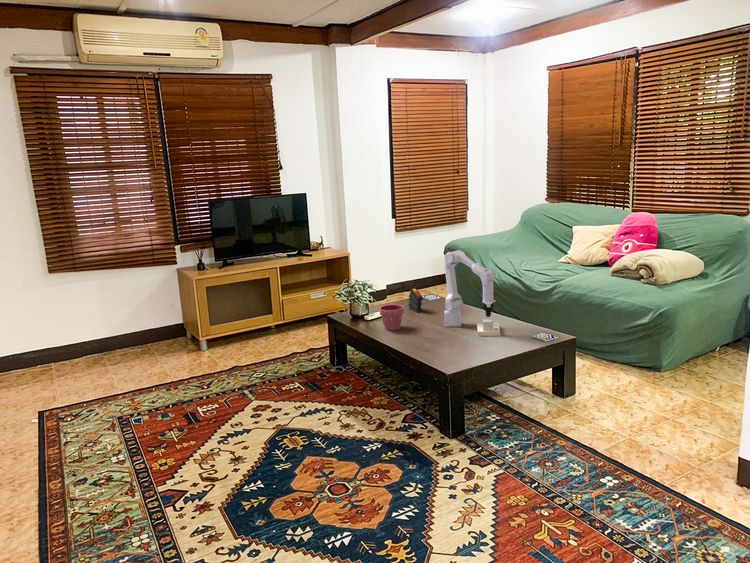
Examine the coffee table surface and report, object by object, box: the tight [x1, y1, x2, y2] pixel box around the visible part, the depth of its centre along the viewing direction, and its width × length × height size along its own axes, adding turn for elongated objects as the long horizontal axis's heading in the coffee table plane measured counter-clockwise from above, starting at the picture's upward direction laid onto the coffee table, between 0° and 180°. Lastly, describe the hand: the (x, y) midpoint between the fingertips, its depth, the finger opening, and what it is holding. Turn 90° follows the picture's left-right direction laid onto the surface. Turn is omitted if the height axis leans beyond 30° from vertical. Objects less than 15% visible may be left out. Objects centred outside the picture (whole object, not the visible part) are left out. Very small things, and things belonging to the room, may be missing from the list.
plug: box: [482, 318, 494, 331], centre depth 314 cm, size 6×4×7 cm
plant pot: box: [379, 304, 405, 331], centre depth 332 cm, size 14×14×13 cm
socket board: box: [476, 322, 501, 337], centre depth 318 cm, size 12×15×3 cm
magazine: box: [408, 286, 424, 313], centre depth 366 cm, size 4×13×15 cm, turn 24°
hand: (488, 316), depth 312 cm, fingers closed
